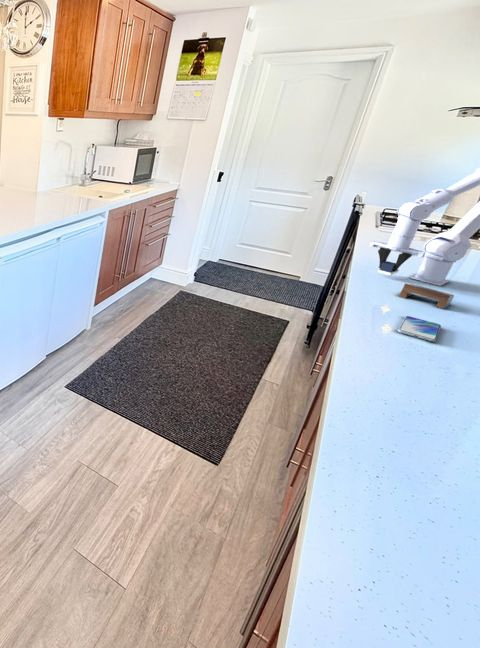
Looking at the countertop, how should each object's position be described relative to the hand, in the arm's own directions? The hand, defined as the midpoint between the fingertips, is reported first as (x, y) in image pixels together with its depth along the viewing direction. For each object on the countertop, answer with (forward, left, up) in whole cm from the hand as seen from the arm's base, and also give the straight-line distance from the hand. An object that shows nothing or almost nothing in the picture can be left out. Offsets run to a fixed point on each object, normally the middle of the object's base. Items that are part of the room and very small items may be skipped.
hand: (387, 269), depth 153 cm
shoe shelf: (+17, +15, -3) cm, 23 cm away
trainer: (-2, 0, -1) cm, 2 cm away
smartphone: (+49, +21, -3) cm, 53 cm away
